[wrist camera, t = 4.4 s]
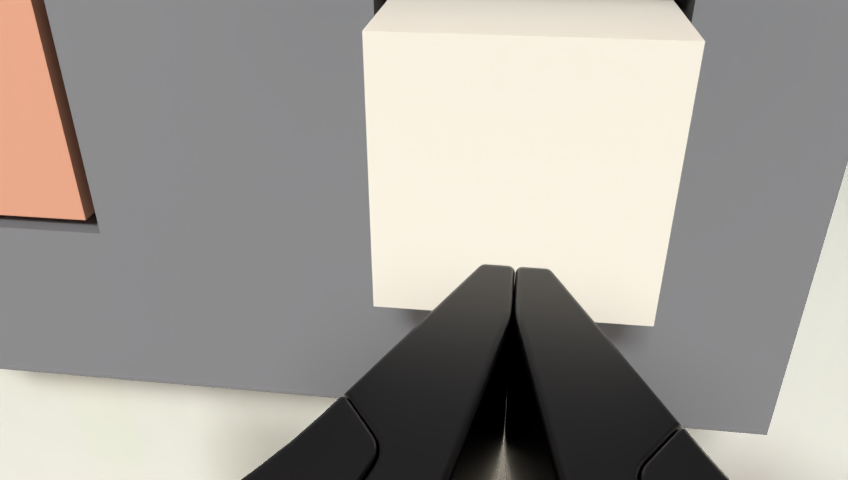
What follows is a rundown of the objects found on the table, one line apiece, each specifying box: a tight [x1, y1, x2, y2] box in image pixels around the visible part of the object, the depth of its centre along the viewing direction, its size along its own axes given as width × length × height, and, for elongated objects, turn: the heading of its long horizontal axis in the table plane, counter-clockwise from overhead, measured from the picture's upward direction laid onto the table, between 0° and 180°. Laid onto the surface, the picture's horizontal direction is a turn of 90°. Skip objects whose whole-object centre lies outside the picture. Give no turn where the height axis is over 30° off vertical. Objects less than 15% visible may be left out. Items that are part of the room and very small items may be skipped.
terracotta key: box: [0, 0, 95, 220], centre depth 18 cm, size 5×5×4 cm
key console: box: [0, 0, 848, 435], centre depth 18 cm, size 24×14×6 cm, turn 90°
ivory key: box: [362, 0, 705, 326], centre depth 14 cm, size 5×5×4 cm
